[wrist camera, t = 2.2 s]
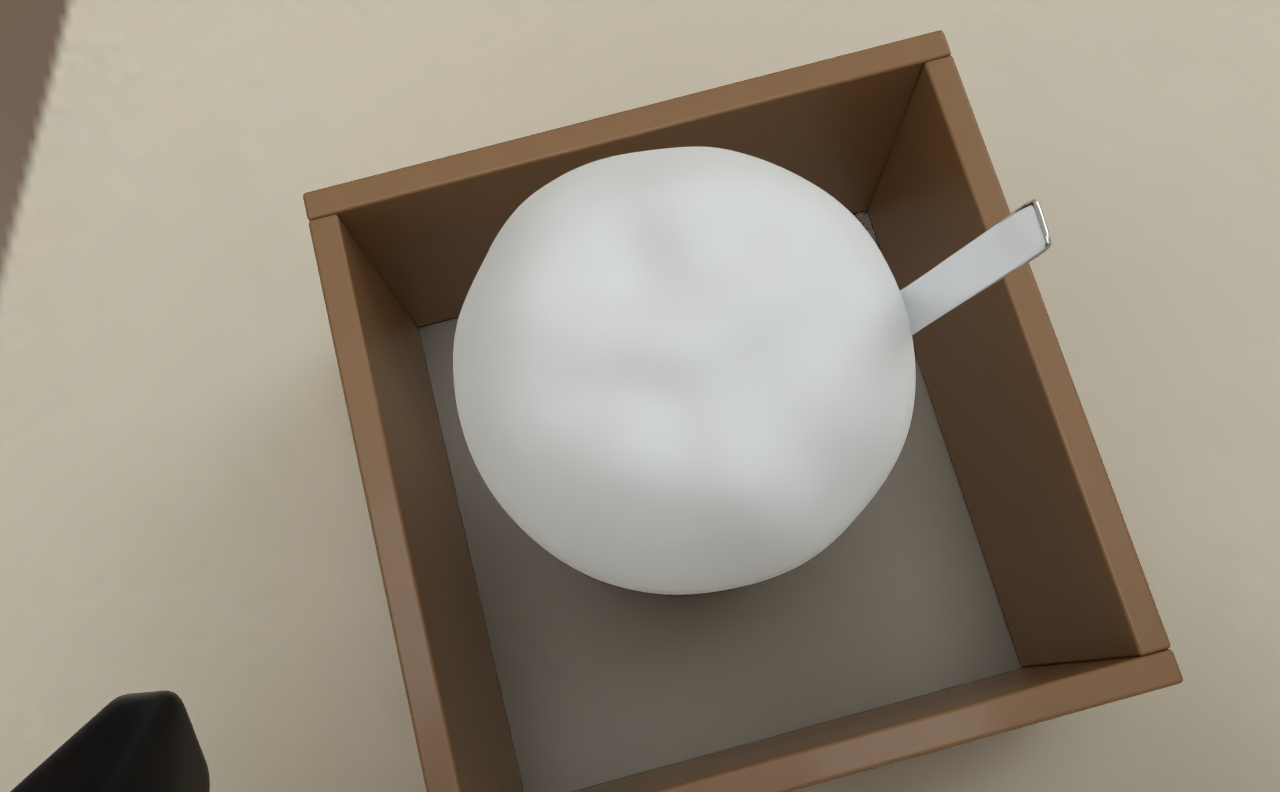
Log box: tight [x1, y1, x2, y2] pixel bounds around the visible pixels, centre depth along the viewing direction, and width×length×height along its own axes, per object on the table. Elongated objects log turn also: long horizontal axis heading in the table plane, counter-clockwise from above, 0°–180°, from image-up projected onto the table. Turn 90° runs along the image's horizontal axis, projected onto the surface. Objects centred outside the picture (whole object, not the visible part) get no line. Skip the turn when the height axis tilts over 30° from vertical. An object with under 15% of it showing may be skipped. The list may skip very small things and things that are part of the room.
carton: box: [303, 31, 1183, 792], centre depth 17 cm, size 9×9×5 cm
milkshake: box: [453, 146, 1051, 596], centre depth 15 cm, size 4×5×10 cm
